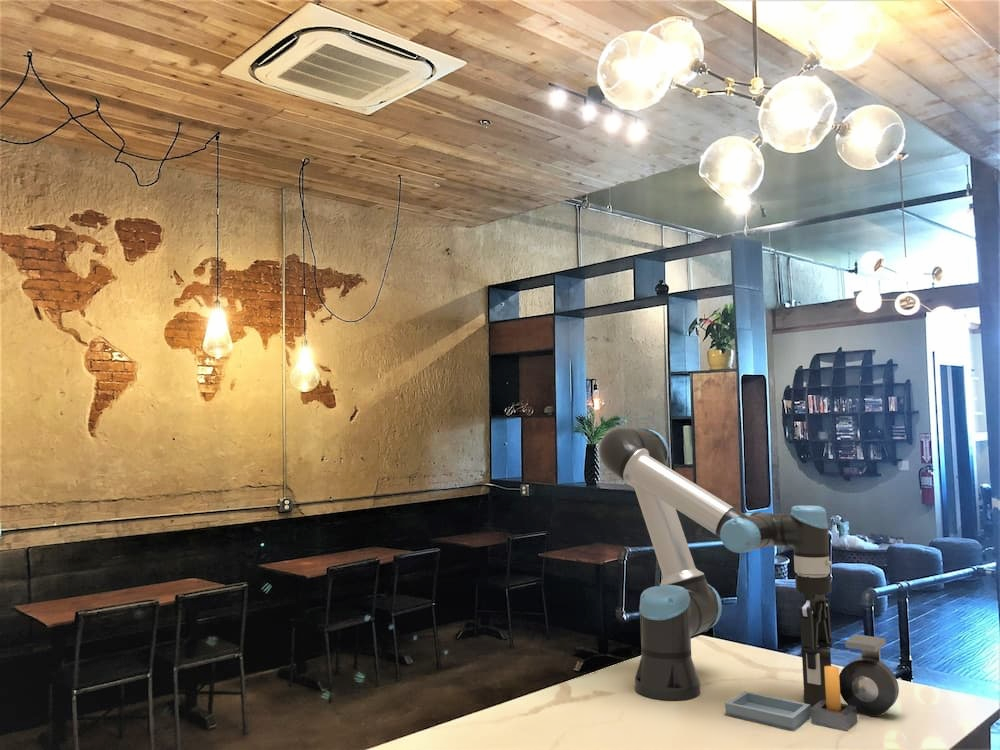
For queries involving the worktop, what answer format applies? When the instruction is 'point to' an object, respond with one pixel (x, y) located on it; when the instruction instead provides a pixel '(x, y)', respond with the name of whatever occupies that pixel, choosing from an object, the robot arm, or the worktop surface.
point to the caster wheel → (868, 678)
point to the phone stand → (818, 692)
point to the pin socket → (834, 716)
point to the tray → (768, 710)
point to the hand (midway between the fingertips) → (818, 679)
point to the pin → (832, 688)
